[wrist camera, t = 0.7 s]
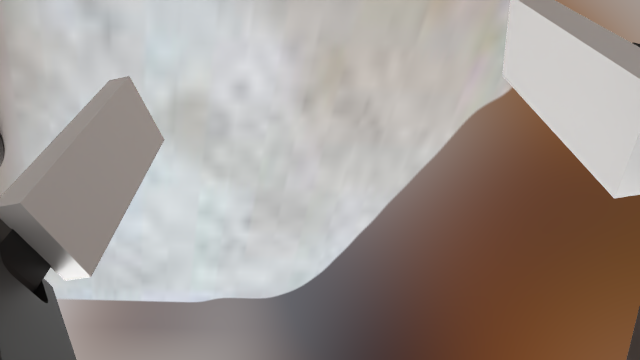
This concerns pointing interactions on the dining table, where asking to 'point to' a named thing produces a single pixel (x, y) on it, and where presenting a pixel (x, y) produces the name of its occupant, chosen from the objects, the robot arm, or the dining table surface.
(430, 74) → the dining table surface
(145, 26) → the dining table surface
